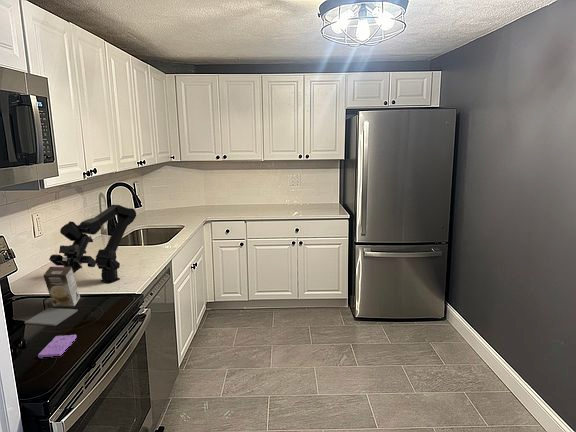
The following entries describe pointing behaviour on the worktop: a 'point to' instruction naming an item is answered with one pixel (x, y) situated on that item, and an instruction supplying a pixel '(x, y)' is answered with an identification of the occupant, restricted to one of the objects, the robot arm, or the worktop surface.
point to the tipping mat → (51, 316)
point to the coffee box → (62, 286)
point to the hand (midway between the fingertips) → (65, 278)
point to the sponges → (57, 346)
